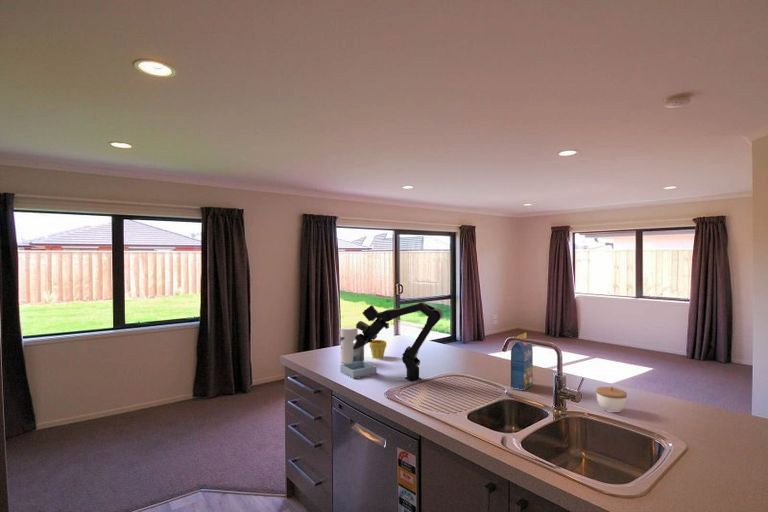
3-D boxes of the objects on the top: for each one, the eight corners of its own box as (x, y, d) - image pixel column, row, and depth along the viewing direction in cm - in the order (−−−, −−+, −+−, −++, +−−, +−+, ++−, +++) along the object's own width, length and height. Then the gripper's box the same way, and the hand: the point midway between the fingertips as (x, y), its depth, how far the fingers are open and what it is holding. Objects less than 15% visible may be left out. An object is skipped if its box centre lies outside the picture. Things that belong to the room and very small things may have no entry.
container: (338, 360, 233) (338, 326, 233) (354, 358, 237) (354, 325, 237) (343, 364, 224) (343, 329, 224) (360, 362, 228) (360, 328, 228)
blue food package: (510, 388, 183) (510, 335, 183) (520, 382, 193) (520, 331, 193) (523, 391, 179) (523, 337, 179) (532, 384, 189) (532, 333, 189)
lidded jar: (611, 417, 151) (611, 392, 151) (590, 406, 161) (590, 384, 161) (633, 414, 154) (633, 390, 154) (611, 404, 164) (611, 381, 164)
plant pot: (386, 359, 234) (386, 343, 234) (369, 359, 234) (369, 343, 234) (386, 355, 244) (386, 339, 244) (370, 355, 245) (370, 339, 245)
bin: (376, 374, 206) (376, 366, 206) (353, 378, 198) (353, 371, 198) (362, 367, 217) (362, 360, 217) (340, 372, 209) (340, 364, 209)
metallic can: (364, 361, 205) (364, 337, 205) (353, 361, 204) (353, 337, 204) (363, 358, 211) (363, 335, 211) (352, 358, 210) (352, 335, 210)
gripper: (371, 313, 215) (353, 332, 218) (358, 319, 197) (338, 339, 201) (385, 329, 212) (366, 347, 216) (373, 335, 195) (352, 356, 198)
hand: (356, 347), depth 208 cm, fingers closed on metallic can, 6 cm apart
